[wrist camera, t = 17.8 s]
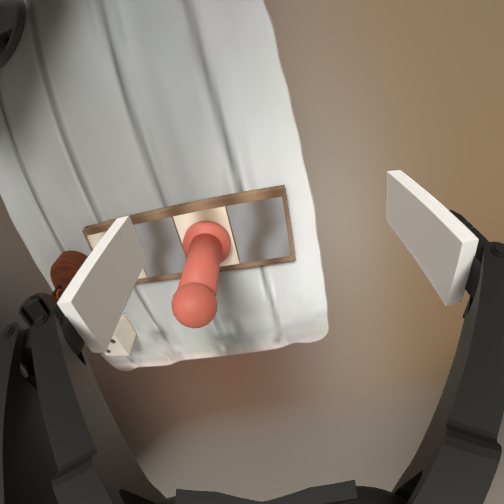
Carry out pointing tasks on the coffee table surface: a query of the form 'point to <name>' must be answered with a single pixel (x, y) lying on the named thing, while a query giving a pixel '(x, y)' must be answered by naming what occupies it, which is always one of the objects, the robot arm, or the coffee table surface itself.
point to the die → (122, 338)
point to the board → (222, 212)
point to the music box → (64, 273)
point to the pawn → (200, 273)
